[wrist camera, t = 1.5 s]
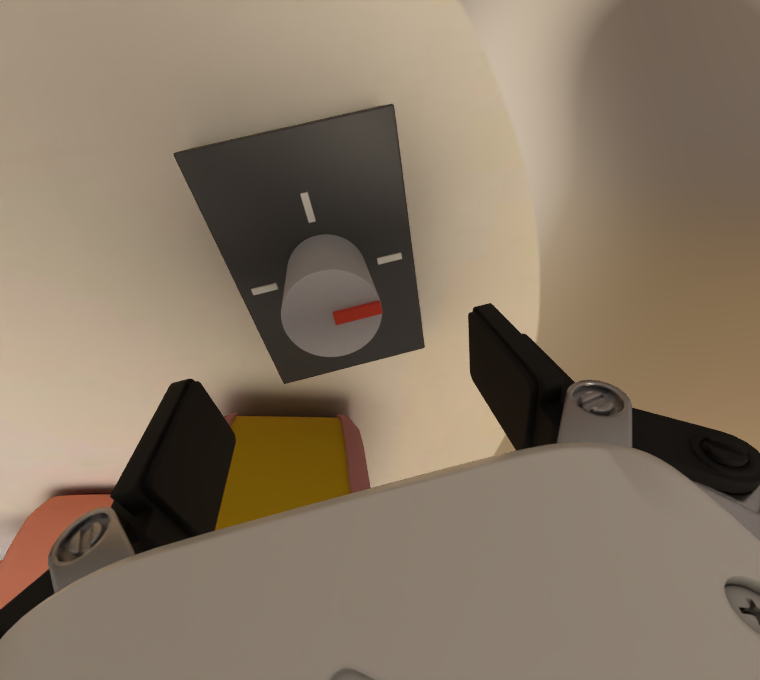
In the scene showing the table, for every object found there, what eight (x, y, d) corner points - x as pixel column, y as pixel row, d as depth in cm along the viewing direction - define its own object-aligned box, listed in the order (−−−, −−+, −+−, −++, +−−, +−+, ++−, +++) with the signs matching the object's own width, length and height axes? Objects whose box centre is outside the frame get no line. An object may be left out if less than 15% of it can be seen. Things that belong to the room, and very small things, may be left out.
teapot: (210, 545, 37) (180, 673, 28) (4, 555, 32) (-108, 716, 23) (211, 484, 31) (175, 621, 23) (-40, 483, 26) (-211, 662, 17)
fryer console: (192, 148, 17) (170, 153, 14) (381, 105, 17) (394, 103, 15) (286, 358, 25) (283, 386, 22) (413, 325, 25) (425, 349, 23)
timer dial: (301, 315, 20) (299, 371, 15) (275, 244, 17) (263, 287, 13) (373, 297, 20) (390, 348, 16) (357, 225, 17) (372, 260, 13)
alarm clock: (330, 510, 37) (346, 800, 21) (225, 516, 34) (153, 855, 19) (358, 386, 28) (425, 743, 12) (215, 380, 25) (50, 841, 9)
